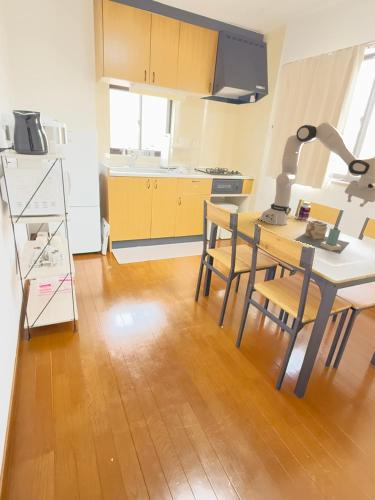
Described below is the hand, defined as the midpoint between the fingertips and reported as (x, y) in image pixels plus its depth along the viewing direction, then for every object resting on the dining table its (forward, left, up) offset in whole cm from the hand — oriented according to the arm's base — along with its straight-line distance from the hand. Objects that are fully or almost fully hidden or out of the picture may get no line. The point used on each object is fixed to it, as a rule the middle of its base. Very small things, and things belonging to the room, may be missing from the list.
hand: (354, 204), depth 180 cm
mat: (-9, -21, -25) cm, 34 cm away
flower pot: (-53, +25, -25) cm, 64 cm away
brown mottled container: (-16, -13, -24) cm, 32 cm away
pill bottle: (-38, +30, -25) cm, 54 cm away
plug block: (-2, -28, -24) cm, 37 cm away
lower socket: (-2, -28, -24) cm, 37 cm away
